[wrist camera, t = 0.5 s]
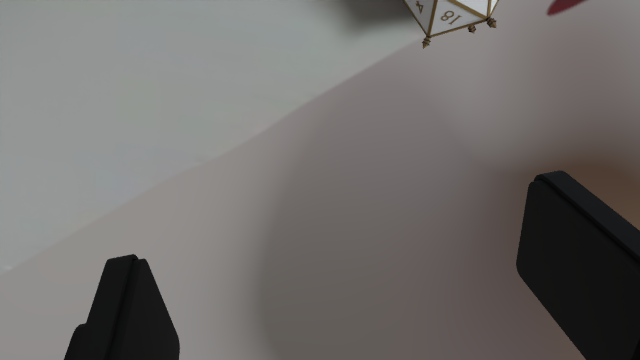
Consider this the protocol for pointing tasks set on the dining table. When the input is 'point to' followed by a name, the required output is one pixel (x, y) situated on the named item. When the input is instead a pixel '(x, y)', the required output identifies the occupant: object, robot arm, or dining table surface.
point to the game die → (450, 15)
